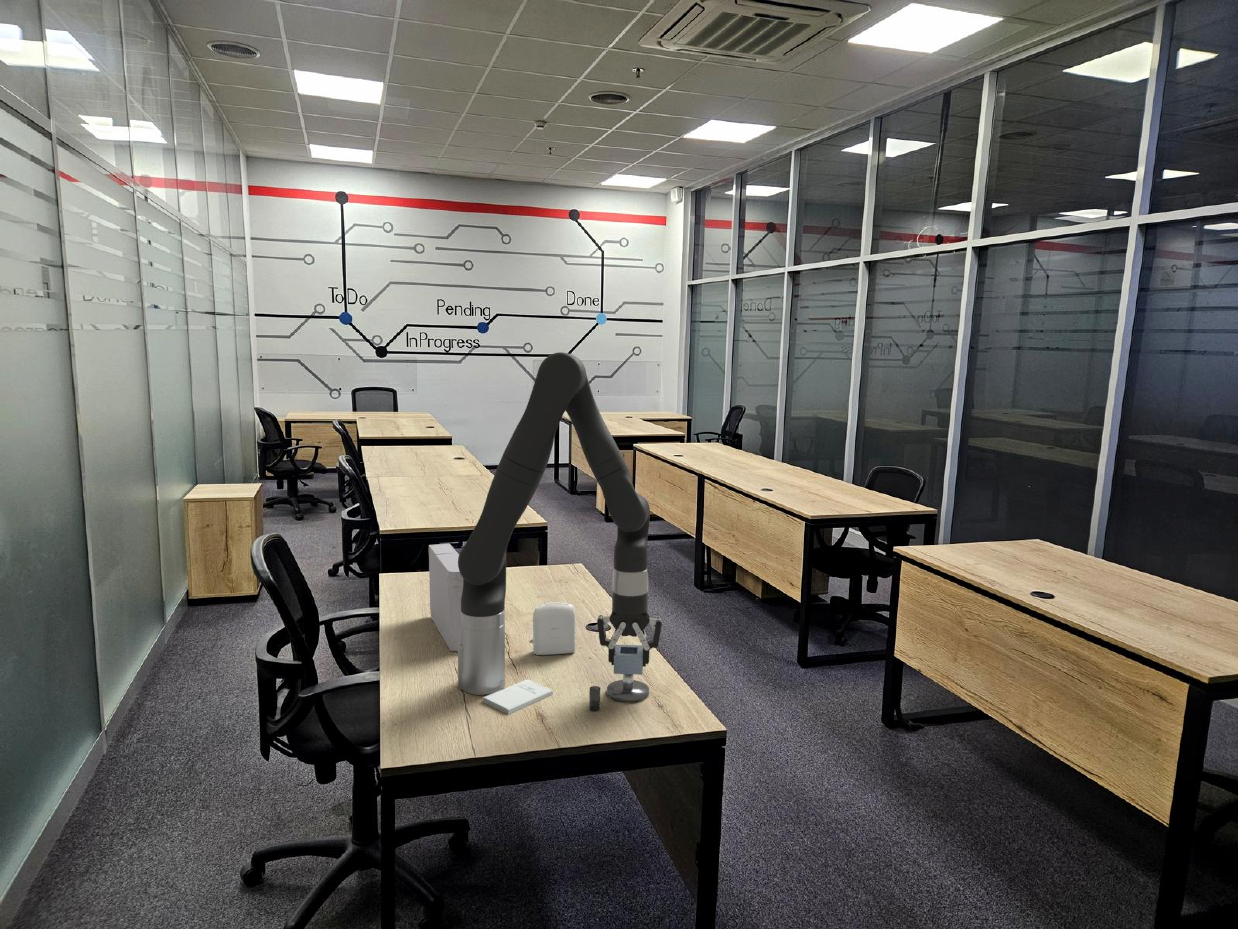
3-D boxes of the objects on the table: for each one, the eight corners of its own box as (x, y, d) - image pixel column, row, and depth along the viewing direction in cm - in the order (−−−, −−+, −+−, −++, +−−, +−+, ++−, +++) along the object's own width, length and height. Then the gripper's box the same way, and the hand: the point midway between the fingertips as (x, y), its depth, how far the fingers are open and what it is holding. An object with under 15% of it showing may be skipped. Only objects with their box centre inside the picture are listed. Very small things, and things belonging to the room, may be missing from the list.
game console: (450, 653, 183) (448, 572, 180) (429, 616, 208) (427, 545, 205) (473, 649, 185) (473, 570, 182) (450, 613, 210) (449, 543, 207)
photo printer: (533, 656, 182) (533, 607, 180) (532, 649, 186) (532, 601, 184) (576, 654, 183) (576, 605, 181) (574, 647, 187) (574, 599, 186)
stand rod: (588, 710, 155) (588, 690, 154) (590, 706, 157) (591, 685, 156) (598, 712, 154) (598, 691, 154) (601, 707, 157) (601, 686, 156)
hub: (602, 699, 160) (602, 679, 159) (612, 681, 169) (612, 662, 168) (644, 705, 158) (644, 684, 157) (652, 686, 167) (652, 667, 166)
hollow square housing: (613, 673, 160) (613, 655, 159) (615, 662, 166) (615, 644, 165) (642, 674, 160) (642, 656, 159) (643, 663, 166) (643, 645, 165)
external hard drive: (482, 704, 158) (526, 685, 167) (508, 717, 153) (553, 696, 162) (482, 696, 158) (526, 678, 167) (508, 709, 153) (553, 689, 162)
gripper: (594, 593, 157) (593, 670, 159) (664, 595, 156) (662, 673, 158) (597, 582, 164) (596, 656, 167) (664, 584, 163) (662, 659, 166)
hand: (628, 664), depth 163 cm, fingers closed on hollow square housing, 6 cm apart
